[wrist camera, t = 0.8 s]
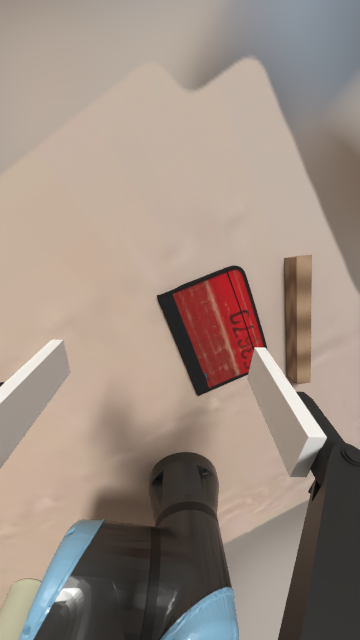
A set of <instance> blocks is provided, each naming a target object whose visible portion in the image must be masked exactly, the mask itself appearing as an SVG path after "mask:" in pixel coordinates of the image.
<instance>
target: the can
mask: <svg viewBox="0 0 360 640" xmlns="http://www.w3.org/2000/svg"><path fill="white" fill-rule="evenodd" d="M40 584H41V581H38V580H35V579H22V580H19V581H17V582H15V583H14V584H13V585H12V586H11V587H10V590H9V593H8V595H7V597H6V599H5V601H4V603H3V605H2V607H1V609H0V640H19V637H20V634H21V632H22V630H23V627H24V625H25V622H26V619H27V615H28V613H29V610H30V608H31V605H32V603H33V600H34V598H35V596H36V593H37V591H38V589H39V586H40Z"/></svg>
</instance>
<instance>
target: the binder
mask: <svg viewBox="0 0 360 640" xmlns="http://www.w3.org/2000/svg"><path fill="white" fill-rule="evenodd" d="M157 297H158V299H159V302H160V304H161V306H162V309H163V311H164V314H165V316H166V319H167V321H168V323H169V326H170V328H171V331H172V333H173V335H174V338H175V340H176V343H177V345H178V348H179V350H180V353H181V355H182V358H183V360H184V362H185V364H186V367H187V369H188V372H189V375H190V377H191V380H192V382H193V384H194V387H195V389H196V392H197V395H198V396H200V395H201V394H203V393H206V392H208V391H211V390H213V389H215V388H218V387H220V386H222V385H224V384H227V383H229V382H231V381H234V380H236V379H238V378H241V377H243V376H245V375H248V373H249V369H250V365H251V360H252V356H253V352H254V348H255V347H259V348H266V349H267V346H266V342H265V338H264V335H263V331H262V328H261V324H260V321H259V317H258V314H257V310H256V307H255V304H254V300H253V297H252V293H251V290H250V287H249V284H248V280H247V277H246V274H245V272H244V270H243V269H242V268H241V267H239V266H230V267H227V268H224V269H222V270H219V271H216V272H214V273H211V274H209V275H206V276H204V277H201V278H199V279H196V280H194V281H191V282H188V283H186V284H183V285H181V286H179V287H177V288H176V289H174V290H171V291H169V292H166V293H164V294H161V295H157ZM267 351H268V350H267Z"/></svg>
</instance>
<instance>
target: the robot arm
mask: <svg viewBox="0 0 360 640" xmlns="http://www.w3.org/2000/svg"><path fill="white" fill-rule="evenodd" d="M69 374H70V368H69V363H68V359H67V354H66V350H65V346H64V341H63V340H51V341H50V342H49V343H48V344H47V345H45V346H44V347H43V348H42V349H41V350H40V351H39V352H38V353H37V354H36V355H35V356H33V357H32V358H31V359H30V360H29V361H28V362H27V363H26V364H25V365H24V366H23V367H21V368H20V369H19V370H18V371H17V372H16V373H15V374H14V375H13V376H12V377H11V378H9V379H8V380H7V381H6V382H1V383H0V468H1V467H2V466H3V464H4V463H5V462H6V460H7V459H8V458H9V456H10V455H11V453H12V452H13V451H14V449H15V448H16V447H17V445H18V444H19V442H20V441H21V440H22V438H23V437H24V436H25V434H26V433H27V431H28V430H29V429H30V427H31V426H32V425H33V423H34V422H35V420H36V419H37V418H38V416H39V415H40V414H41V412H42V411H43V409H44V408H45V407H46V405H47V404H48V403H49V401H50V400H51V398H52V397H53V396H54V394H55V393H56V392H57V390H58V389H59V387H60V386H61V385H62V383H63V382H64V381H65V379H66V378H67V376H68V375H69ZM247 379H248V381H249V384H250V386H251V388H252V391H253V393H254V395H255V397H256V400H257V402H258V404H259V407H260V409H261V411H262V414H263V416H264V418H265V421H266V423H267V425H268V427H269V430H270V432H271V434H272V437H273V439H274V441H275V444H276V446H277V448H278V450H279V453H280V455H281V457H282V460H283V462H284V464H285V467H286V469H287V471H288V474H289V476H290V477H307V475H308V473H309V471H310V469H311V471H312V473H313V475H314V477H315V480H314V482H313V484H312V486H311V487H310V489H309V491H308V492H309V493H310V494H311V495H310V499H309V504H308V508H307V513H306V517H305V521H304V526H303V530H302V535H301V539H300V544H299V549H298V553H297V557H296V562H295V566H294V571H293V575H292V579H291V584H290V588H289V593H288V597H287V602H286V606H285V611H284V615H283V620H282V624H281V628H280V633H279V638H278V640H360V450H359V449H357V448H356V447H354V446H352V445H350V444H347V443H345V442H344V441H343V439H342V438H341V437H340V435H339V434H338V433H337V431H336V430H335V429H334V427H333V426H332V425H331V423H330V422H329V421H328V419H327V418H326V417H325V416H324V414H323V413H322V411H321V410H320V409H319V407H318V406H317V405H316V403H315V402H314V401H313V399H312V398H310V397H309V396H308V395H307V394H305V393H304V392H296V391H295V390H294V389H293V387H292V386H291V384H290V383H289V381H288V380H287V378H286V377H285V375H284V374H283V373H282V371H281V370H280V368H279V367H278V365H277V364H276V362H275V361H274V359H273V358H272V356H271V355H270V354H269V352H268V351H267V349H266V348H259V347H255V348H254V352H253V356H252V360H251V365H250V369H249V373H248V378H247ZM218 493H219V482H218V478H217V473H216V470H215V468H214V466H213V465H212V463H211V462H210V461H209V460H208V459H206V458H205V457H203V456H201V455H198V454H195V453H177V454H173V455H170V456H168V457H166V458H164V459H163V460H161V461H160V462H159V463H158V464H157V465H156V466H155V467H154V469H153V471H152V473H151V476H150V483H149V495H150V500H151V504H152V509H153V513H154V517H155V522H156V524H155V527H150V526H142V525H134V524H125V523H117V522H108V521H106V520H105V519H102V520H79V521H77V522H76V523H74V524H73V525H72V526H71V527H70V529H69V530H68V531H67V533H66V534H65V536H64V538H63V539H62V541H61V543H60V545H59V547H58V549H57V551H56V553H55V555H54V557H53V559H52V561H51V563H50V565H49V567H48V569H47V571H46V573H45V575H44V578H43V580H42V582H41V584H40V586H39V589H38V591H37V593H36V596H35V598H34V600H33V603H32V605H31V608H30V610H29V613H28V615H27V619H26V622H25V625H24V627H23V630H22V632H21V634H20V637H19V640H239V629H238V622H237V617H236V609H235V603H234V592H233V589H232V586H231V582H230V577H229V572H228V567H227V562H226V558H225V553H224V548H223V543H222V538H221V533H220V528H219V524H218V519H217V507H218Z"/></svg>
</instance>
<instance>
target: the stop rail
mask: <svg viewBox="0 0 360 640" xmlns="http://www.w3.org/2000/svg"><path fill="white" fill-rule="evenodd" d="M311 282H312V255H305V256H297V257H290V258H285V302H286V353H287V376H288V377H290V378H291V379H292V380H293V381H294V382H295V383H296V384H303V383H309V382H310V378H311Z"/></svg>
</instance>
